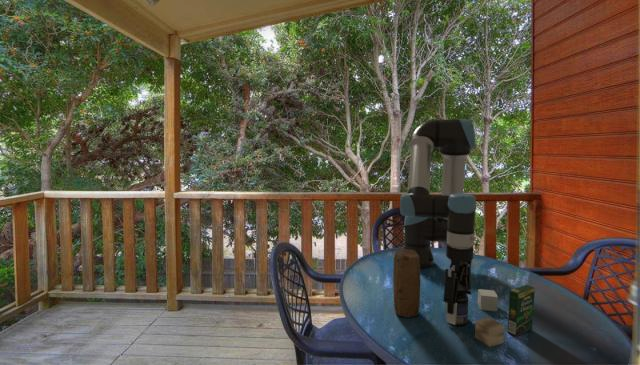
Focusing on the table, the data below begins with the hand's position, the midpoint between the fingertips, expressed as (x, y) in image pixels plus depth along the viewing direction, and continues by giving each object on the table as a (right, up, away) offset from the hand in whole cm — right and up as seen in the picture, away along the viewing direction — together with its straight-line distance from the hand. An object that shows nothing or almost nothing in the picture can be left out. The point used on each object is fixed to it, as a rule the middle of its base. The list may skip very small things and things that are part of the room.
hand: (456, 318), depth 105 cm
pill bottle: (0, -1, 0) cm, 1 cm away
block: (-14, -1, +7) cm, 16 cm away
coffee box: (+16, -2, -6) cm, 17 cm away
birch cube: (+5, -2, -10) cm, 11 cm away
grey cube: (+14, 0, +9) cm, 17 cm away
